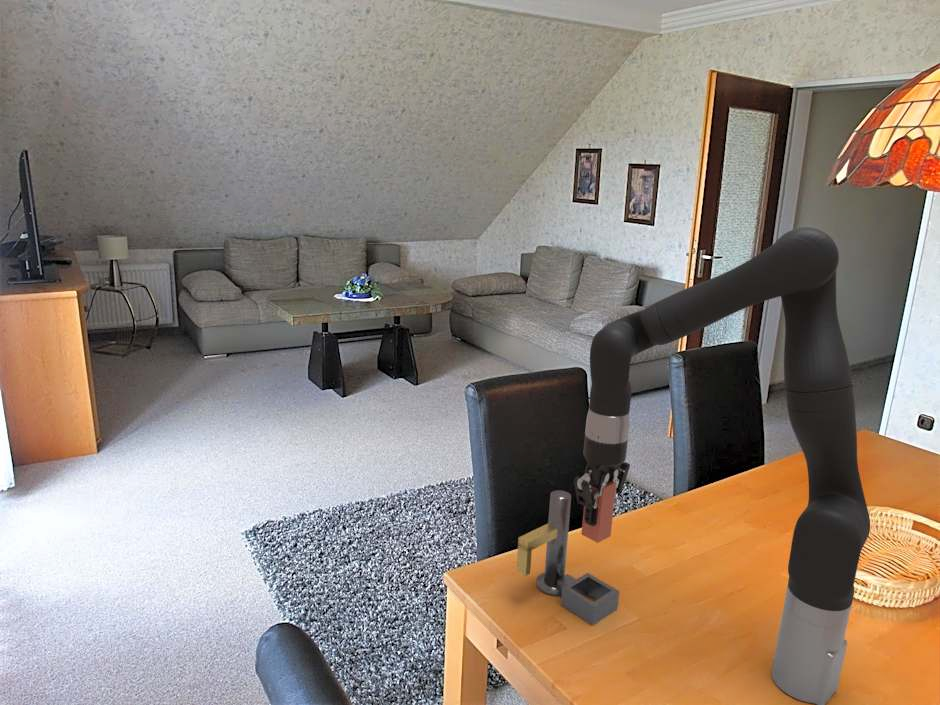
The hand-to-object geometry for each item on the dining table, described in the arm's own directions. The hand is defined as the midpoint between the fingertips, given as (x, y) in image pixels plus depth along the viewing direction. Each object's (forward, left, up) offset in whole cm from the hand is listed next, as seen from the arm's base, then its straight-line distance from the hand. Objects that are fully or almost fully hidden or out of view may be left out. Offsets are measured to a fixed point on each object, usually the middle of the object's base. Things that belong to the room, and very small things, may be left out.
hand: (597, 519), depth 124 cm
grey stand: (+4, +3, -19) cm, 19 cm away
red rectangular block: (0, 0, -3) cm, 3 cm away
